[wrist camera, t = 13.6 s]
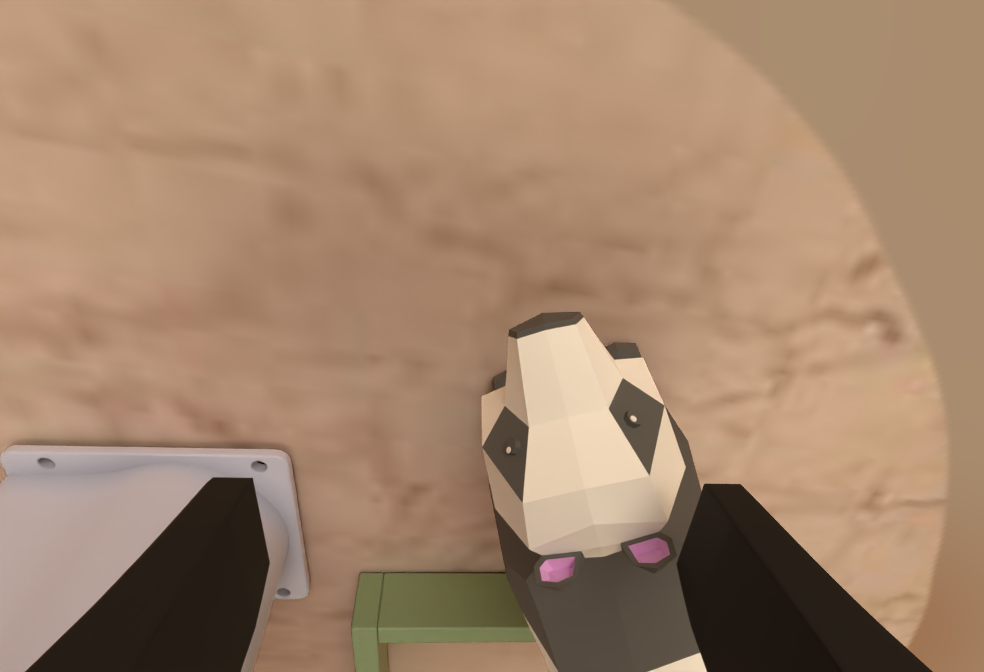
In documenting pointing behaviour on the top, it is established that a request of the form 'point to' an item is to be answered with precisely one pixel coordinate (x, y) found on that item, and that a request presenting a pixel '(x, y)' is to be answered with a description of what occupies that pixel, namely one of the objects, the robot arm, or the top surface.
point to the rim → (432, 613)
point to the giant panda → (590, 500)
